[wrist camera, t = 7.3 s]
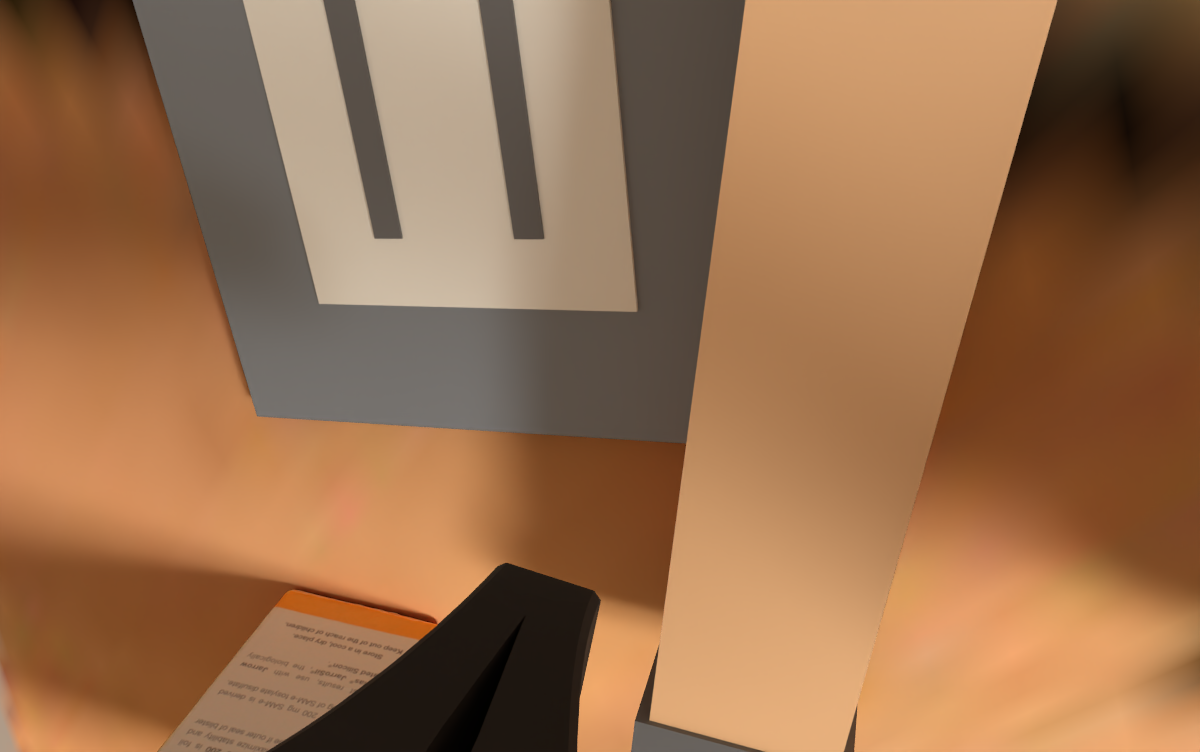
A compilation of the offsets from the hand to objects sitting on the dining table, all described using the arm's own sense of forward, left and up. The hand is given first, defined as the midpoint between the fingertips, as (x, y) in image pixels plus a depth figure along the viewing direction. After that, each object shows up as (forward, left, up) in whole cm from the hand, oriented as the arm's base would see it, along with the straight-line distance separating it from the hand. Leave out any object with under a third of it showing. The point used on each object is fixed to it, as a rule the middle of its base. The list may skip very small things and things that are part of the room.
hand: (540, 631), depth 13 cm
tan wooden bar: (+1, -3, -7) cm, 8 cm away
